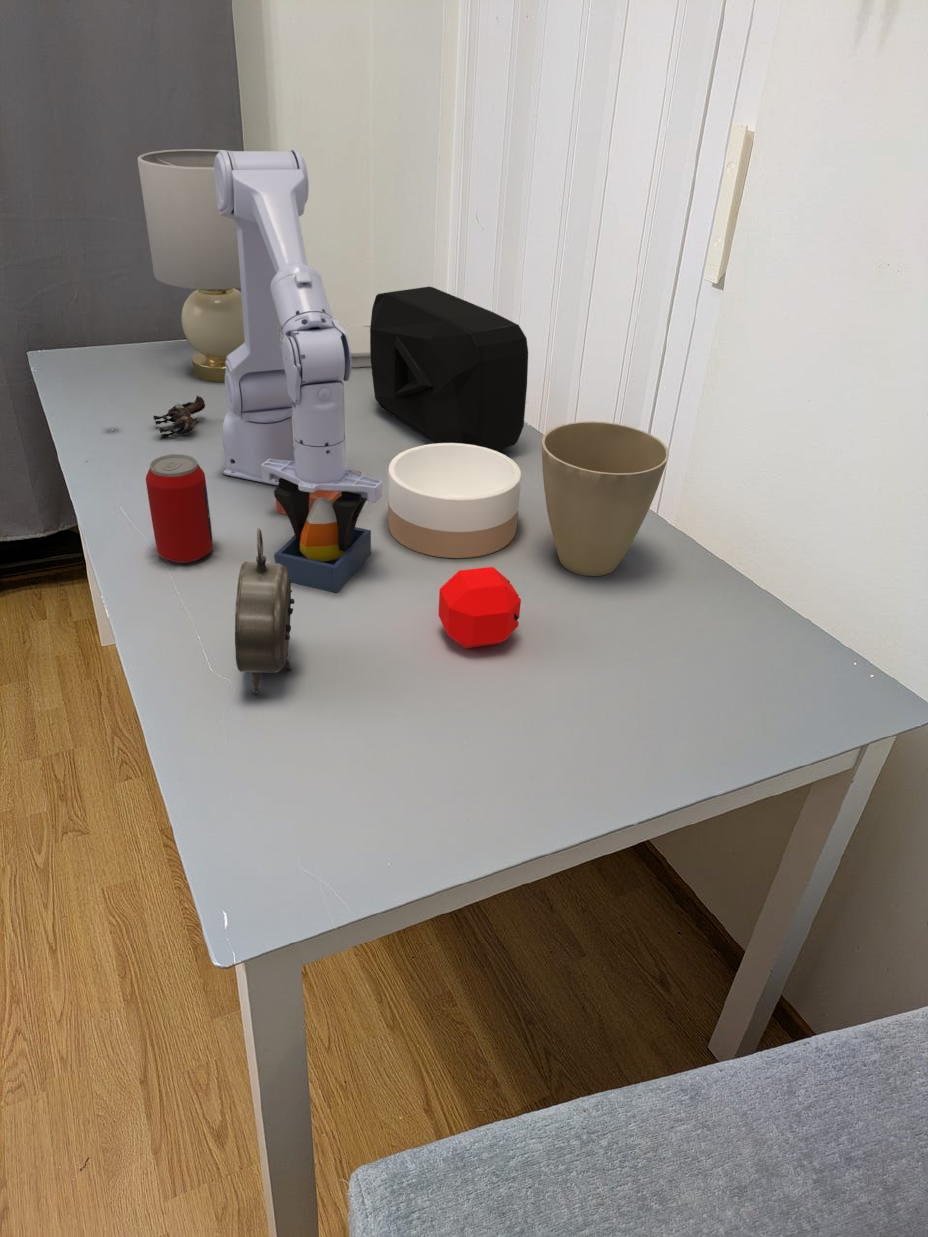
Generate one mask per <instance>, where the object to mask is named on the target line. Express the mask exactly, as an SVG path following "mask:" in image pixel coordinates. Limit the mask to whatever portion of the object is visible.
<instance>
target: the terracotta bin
mask: <svg viewBox="0 0 928 1237" xmlns="http://www.w3.org/2000/svg"><path fill="white" fill-rule="evenodd" d="M352 470H353V471H355V472H358V473H360V474H362V471H360V470H354V469H352ZM321 497H326V498H327V499H328V500H329V501H330V502H331V503H332V504H333V503H334V502H335V501H336V500H337V499H338V498H339V497H341V493H339V492H334V491H324V490H317V491H316V492H314V493H310V497H309V512H310V509H311V507H312V505H313V503H314V501H315V500H316V499H318V498H321ZM275 506H276V513H277V514H280V515H285V516H287V514H286V512H285V510H284V509H283V507H282V506H281V504H280V503H279V502H278V500H277V499H276V498H275Z"/></svg>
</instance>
